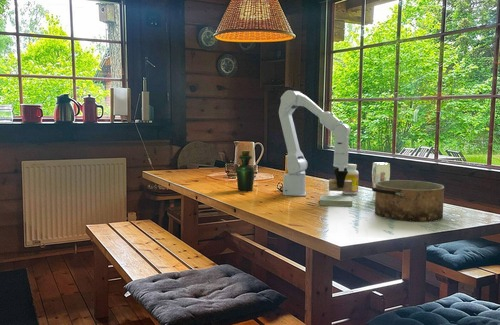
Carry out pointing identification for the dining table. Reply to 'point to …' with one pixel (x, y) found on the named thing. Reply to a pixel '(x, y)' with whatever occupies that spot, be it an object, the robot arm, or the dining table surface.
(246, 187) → the potion bottle
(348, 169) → the supplement bottle
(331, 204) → the dock
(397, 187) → the cooking pot
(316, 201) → the dining table surface
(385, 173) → the beer glass
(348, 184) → the pallet
